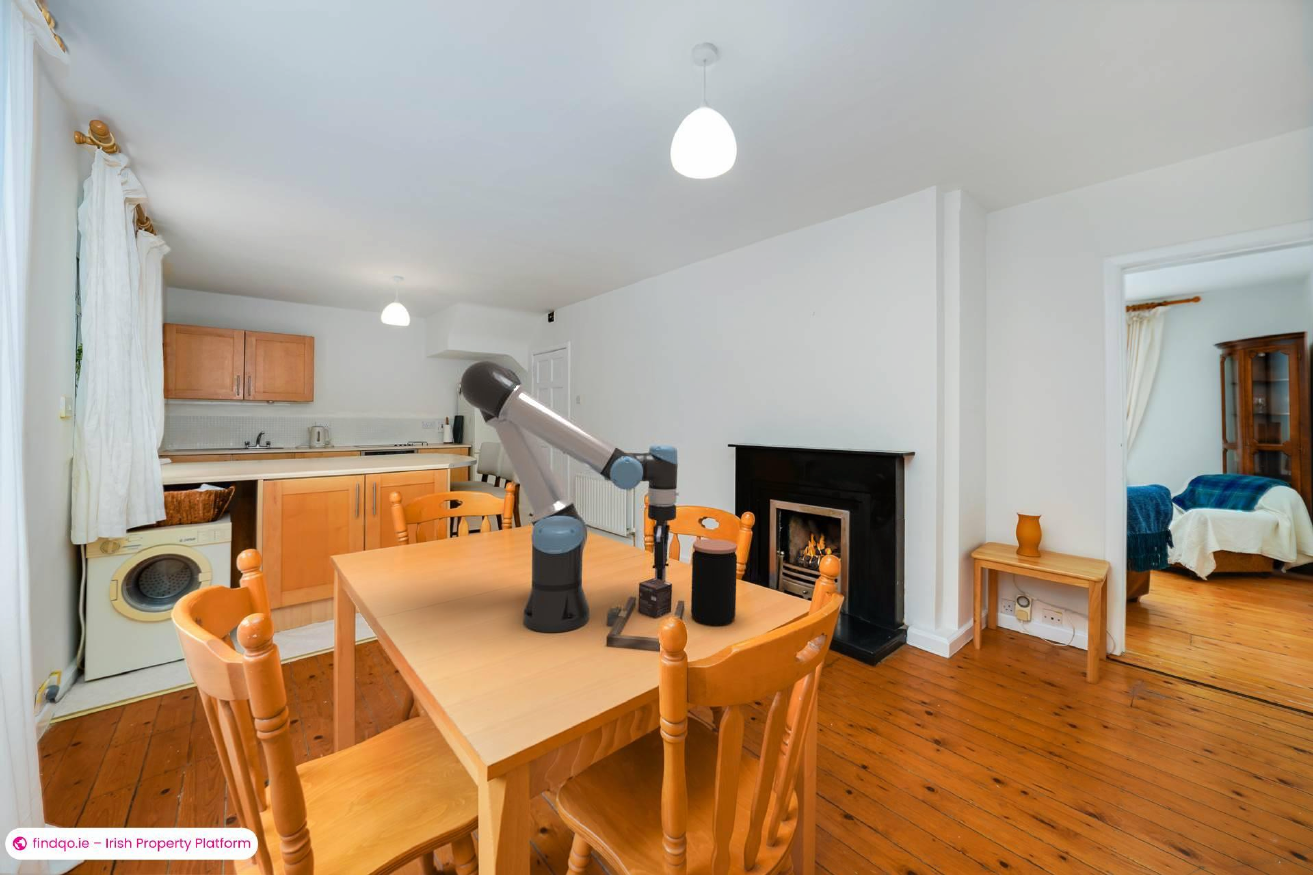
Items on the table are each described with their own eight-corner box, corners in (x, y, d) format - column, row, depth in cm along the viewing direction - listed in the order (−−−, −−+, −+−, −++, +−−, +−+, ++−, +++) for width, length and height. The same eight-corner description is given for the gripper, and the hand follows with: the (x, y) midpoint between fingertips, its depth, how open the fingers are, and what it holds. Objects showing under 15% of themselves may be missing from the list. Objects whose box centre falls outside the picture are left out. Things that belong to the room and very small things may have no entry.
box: (637, 611, 123) (638, 582, 123) (654, 605, 128) (654, 577, 127) (655, 619, 119) (656, 588, 119) (672, 612, 123) (672, 583, 123)
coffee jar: (740, 614, 123) (742, 542, 122) (727, 630, 113) (730, 552, 113) (699, 606, 127) (701, 537, 127) (684, 621, 118) (686, 546, 117)
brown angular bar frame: (594, 644, 104) (595, 627, 104) (620, 603, 128) (620, 589, 128) (672, 652, 102) (673, 633, 102) (684, 608, 126) (684, 593, 125)
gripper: (673, 508, 125) (671, 601, 126) (678, 500, 138) (676, 584, 138) (644, 507, 126) (641, 599, 127) (652, 499, 139) (650, 582, 140)
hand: (660, 591), depth 133 cm, fingers closed
